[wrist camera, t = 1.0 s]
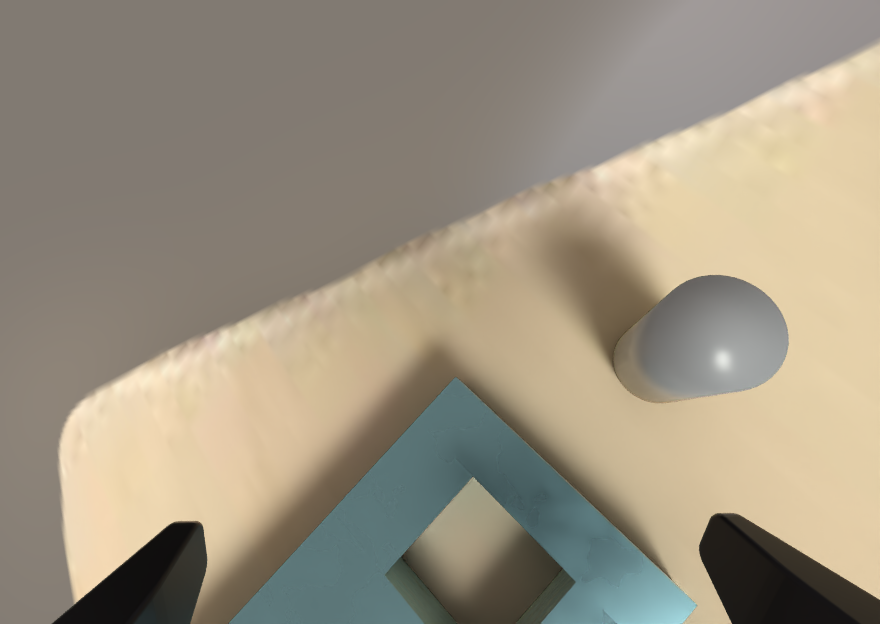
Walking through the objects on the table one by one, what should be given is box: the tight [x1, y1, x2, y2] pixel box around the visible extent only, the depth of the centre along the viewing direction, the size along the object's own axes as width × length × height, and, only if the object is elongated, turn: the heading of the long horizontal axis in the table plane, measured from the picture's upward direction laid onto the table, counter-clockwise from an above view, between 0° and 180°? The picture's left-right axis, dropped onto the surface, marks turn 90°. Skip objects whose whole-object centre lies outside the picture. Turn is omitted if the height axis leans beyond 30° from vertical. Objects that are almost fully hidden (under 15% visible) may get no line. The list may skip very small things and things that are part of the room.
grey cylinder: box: [613, 275, 788, 403], centre depth 20 cm, size 4×4×8 cm
